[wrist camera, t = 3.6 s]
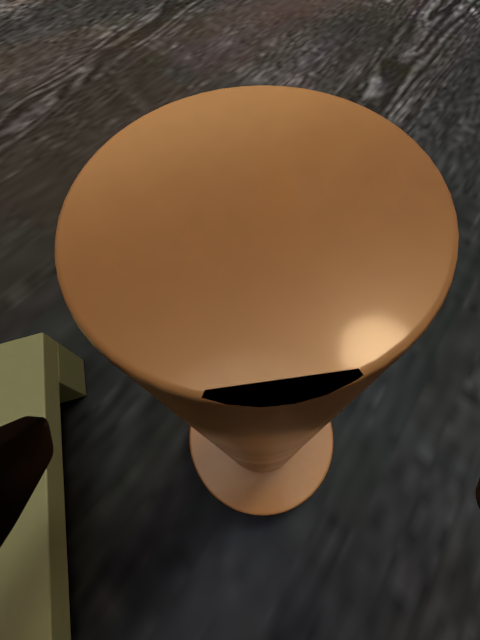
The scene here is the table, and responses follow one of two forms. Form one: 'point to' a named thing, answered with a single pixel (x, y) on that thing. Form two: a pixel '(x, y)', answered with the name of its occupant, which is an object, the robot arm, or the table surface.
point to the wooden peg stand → (257, 272)
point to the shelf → (38, 493)
